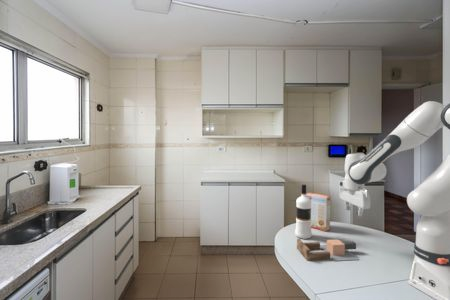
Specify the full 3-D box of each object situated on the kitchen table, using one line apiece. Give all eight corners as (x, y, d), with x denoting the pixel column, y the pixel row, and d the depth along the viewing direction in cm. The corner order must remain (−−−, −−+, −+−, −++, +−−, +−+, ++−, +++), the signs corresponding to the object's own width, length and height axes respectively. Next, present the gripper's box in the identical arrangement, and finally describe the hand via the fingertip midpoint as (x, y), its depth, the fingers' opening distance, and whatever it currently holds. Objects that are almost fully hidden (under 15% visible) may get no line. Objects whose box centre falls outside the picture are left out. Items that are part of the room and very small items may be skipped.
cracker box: (330, 229, 156) (331, 195, 154) (326, 232, 151) (326, 197, 150) (309, 223, 166) (309, 192, 164) (304, 225, 161) (305, 193, 160)
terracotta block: (358, 253, 123) (358, 243, 123) (332, 255, 122) (333, 245, 122) (350, 248, 129) (351, 238, 129) (326, 249, 128) (326, 239, 127)
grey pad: (359, 259, 118) (359, 259, 118) (334, 261, 117) (334, 260, 117) (340, 244, 134) (340, 244, 134) (318, 245, 133) (318, 245, 133)
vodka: (293, 232, 150) (294, 182, 149) (310, 233, 149) (310, 183, 147) (296, 239, 141) (296, 186, 139) (313, 240, 140) (314, 186, 138)
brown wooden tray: (330, 259, 119) (330, 248, 118) (306, 260, 118) (306, 250, 117) (318, 247, 131) (318, 238, 130) (297, 248, 129) (297, 239, 129)
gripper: (374, 189, 114) (373, 219, 115) (348, 181, 134) (347, 206, 135) (361, 189, 114) (360, 220, 114) (337, 181, 134) (336, 207, 135)
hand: (353, 212), depth 125 cm, fingers open, 8 cm apart
